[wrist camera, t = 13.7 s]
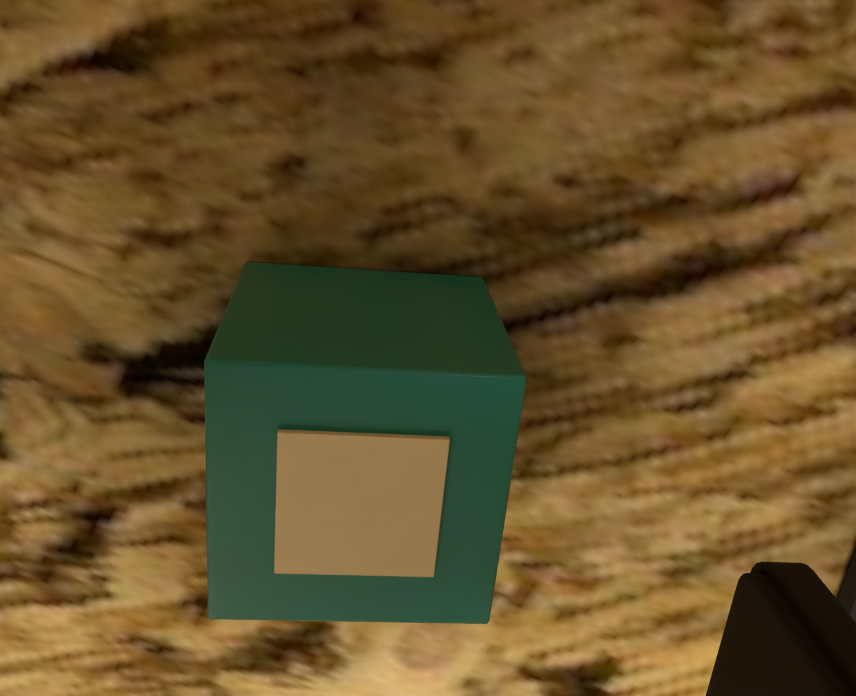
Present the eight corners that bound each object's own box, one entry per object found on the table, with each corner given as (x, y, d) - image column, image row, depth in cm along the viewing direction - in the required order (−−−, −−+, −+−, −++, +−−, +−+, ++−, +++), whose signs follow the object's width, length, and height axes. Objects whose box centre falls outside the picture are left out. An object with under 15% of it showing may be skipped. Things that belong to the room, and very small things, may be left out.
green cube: (244, 261, 15) (202, 362, 11) (483, 276, 15) (529, 379, 11) (244, 468, 17) (206, 624, 12) (458, 476, 17) (490, 630, 13)
